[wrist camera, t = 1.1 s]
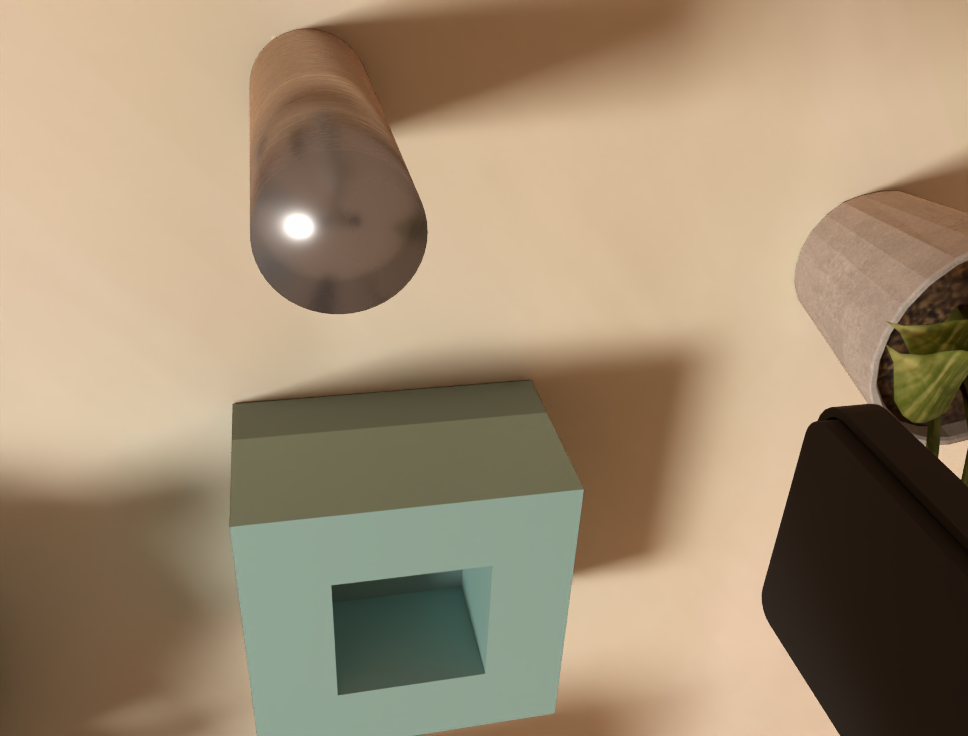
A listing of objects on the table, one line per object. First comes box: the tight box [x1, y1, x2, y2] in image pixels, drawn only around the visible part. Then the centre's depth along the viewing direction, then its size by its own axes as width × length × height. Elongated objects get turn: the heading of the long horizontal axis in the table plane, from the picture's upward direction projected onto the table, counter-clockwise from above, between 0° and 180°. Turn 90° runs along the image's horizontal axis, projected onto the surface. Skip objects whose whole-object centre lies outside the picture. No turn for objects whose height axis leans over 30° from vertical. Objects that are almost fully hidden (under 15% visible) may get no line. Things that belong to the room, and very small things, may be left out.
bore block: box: [230, 380, 584, 736], centre depth 31 cm, size 10×10×6 cm
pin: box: [250, 29, 428, 314], centre depth 21 cm, size 3×3×10 cm
